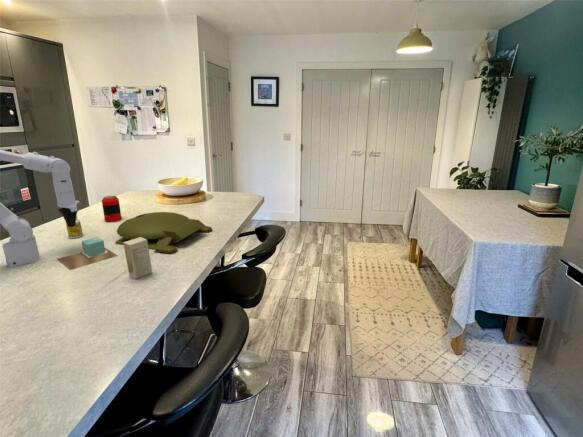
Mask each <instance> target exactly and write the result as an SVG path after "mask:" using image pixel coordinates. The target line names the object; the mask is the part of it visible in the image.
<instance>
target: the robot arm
mask: <svg viewBox="0 0 583 437" xmlns="http://www.w3.org/2000/svg"><path fill="white" fill-rule="evenodd" d="M0 161H3V162H9V163H13V164H20V165H21V166H22V167H23V168H24V169H25V170H32V171H36V172H41V173H51V175H52V183H53V189H54V193H55V198H56V201H57V202H56V203H57V207H58V208H59V209H58V212H59V213H60V214H61V216H62V217H63V219H64V221H65V224H66V223H67V225H68V227H73V226H75V225H76V215H77V216H78V212H79V207H78V206H77V205H78V204H80V201H79V200H76V196H75V190H74V187H73V183H72V178H71V174H70V172H71V170H72V169H71V166H70V165H69V163H68V162H67V161H66V160H64V159H61V158H59V157H55V156H53V155H50V156H47V155H43V154H39V153H38V152H37V151H32V152H27V153H25V154H24V153H23V154H21V153H17V152H12V151H8V150H4V149H0ZM0 224H1V226H2V227H3V229H5V230H6V231H7V232H8V234H9V236H10V238H9V241H8V242H4V243H2V244H1V245H2V249H3V254H4V257H5V262H6V265H7V266H8V267H9V268H10V269H11V268H14V267H17V266H21V265H26V264H30V263H33V262H36V261H39V260H40V259H41V256H40V252H39V248H38V243H37V239H36V235H34V230H33V228H32V227H31V224H30V222H29V221H28V220H27V219H25V218H22V217H19V216H18V215H17V214H15V213H14V212H12V211H11V210H10V209H9V208H8V207H6V206H5V205H4V204H3V203H2V202H1V201H0Z"/></svg>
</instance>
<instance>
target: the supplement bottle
mask: <svg viewBox="0 0 583 437" xmlns="http://www.w3.org/2000/svg"><path fill="white" fill-rule="evenodd" d="M65 226H66V230H67V234H68V238H70V239H77V238H81V237H83V228H82V223H81V220H80V219H79V218H78V214H77V215H76V225H75V226H73V227H68V225H67V223H66V222H65Z"/></svg>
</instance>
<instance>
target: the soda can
mask: <svg viewBox="0 0 583 437" xmlns="http://www.w3.org/2000/svg"><path fill="white" fill-rule="evenodd" d="M119 200H120V199H119V198H118V196H116V195H106V196H104V197H103V198H102V199H101V205H102V212H103V216H104V218H103V219H104V221H105V222H106V223H116V222H120V221H122V213H121V212H122V211H121V205H120V201H119Z"/></svg>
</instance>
